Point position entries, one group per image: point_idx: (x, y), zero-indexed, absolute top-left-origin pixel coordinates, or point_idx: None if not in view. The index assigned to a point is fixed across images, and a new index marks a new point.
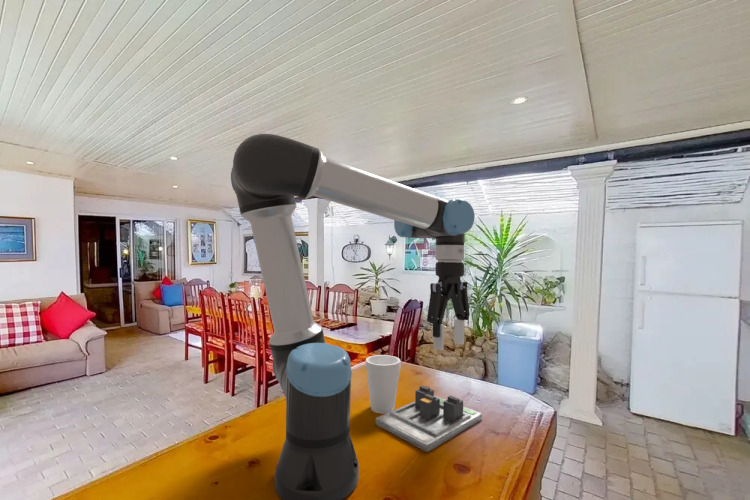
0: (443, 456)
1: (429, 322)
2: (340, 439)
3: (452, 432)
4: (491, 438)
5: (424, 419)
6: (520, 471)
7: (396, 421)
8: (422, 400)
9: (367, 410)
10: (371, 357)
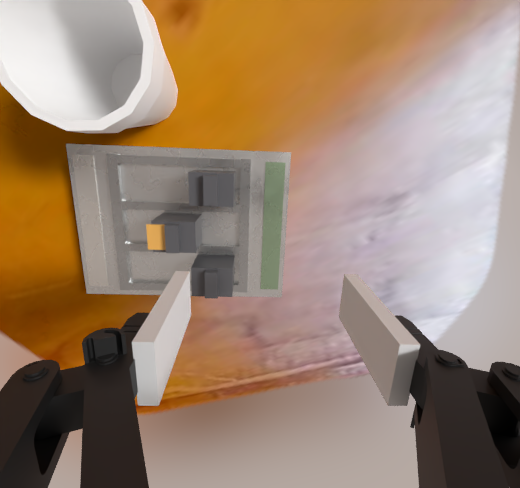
0: (108, 311)
1: (94, 334)
2: None
3: None
4: (225, 335)
5: None
6: (172, 398)
7: (96, 193)
8: (147, 232)
9: None
10: None
